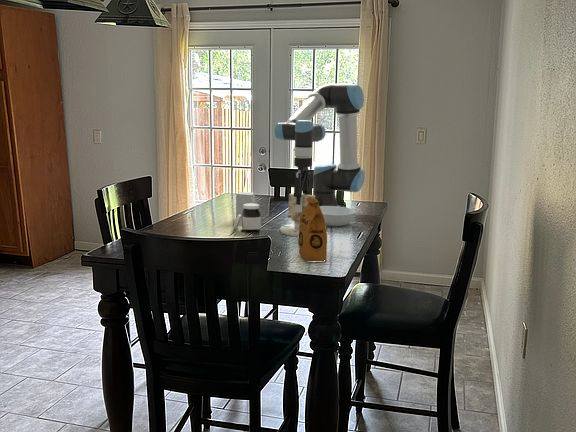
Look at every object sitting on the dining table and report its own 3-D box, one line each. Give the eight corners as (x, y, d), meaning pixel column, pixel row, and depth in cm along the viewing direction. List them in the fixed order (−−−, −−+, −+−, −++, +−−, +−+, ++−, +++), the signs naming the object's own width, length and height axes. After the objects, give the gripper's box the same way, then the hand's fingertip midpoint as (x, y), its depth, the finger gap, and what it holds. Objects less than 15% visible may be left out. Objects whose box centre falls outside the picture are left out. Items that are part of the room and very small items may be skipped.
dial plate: (327, 229, 254) (327, 218, 253) (313, 238, 238) (314, 226, 237) (289, 225, 261) (289, 214, 260) (273, 233, 244) (274, 222, 243)
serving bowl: (324, 231, 251) (325, 216, 250) (301, 221, 269) (302, 207, 268) (363, 227, 261) (364, 212, 259) (339, 218, 279) (339, 204, 278)
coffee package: (301, 263, 202) (303, 202, 197) (296, 254, 214) (297, 196, 209) (329, 263, 203) (331, 202, 199) (322, 253, 215) (324, 196, 211)
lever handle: (316, 219, 250) (317, 194, 248) (309, 223, 242) (310, 197, 240) (291, 216, 255) (292, 192, 252) (284, 220, 246) (284, 195, 244)
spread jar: (262, 233, 245) (262, 206, 242) (236, 234, 242) (236, 207, 239) (255, 227, 256) (256, 201, 254) (230, 228, 253) (231, 202, 250)
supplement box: (250, 221, 267) (251, 194, 264) (235, 220, 268) (235, 193, 266) (254, 218, 274) (255, 192, 272) (239, 217, 276) (240, 191, 273)
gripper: (302, 154, 253) (301, 205, 258) (286, 158, 235) (285, 213, 240) (318, 155, 250) (317, 207, 255) (303, 159, 232) (301, 215, 237)
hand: (301, 210), depth 247 cm, fingers open, 6 cm apart
